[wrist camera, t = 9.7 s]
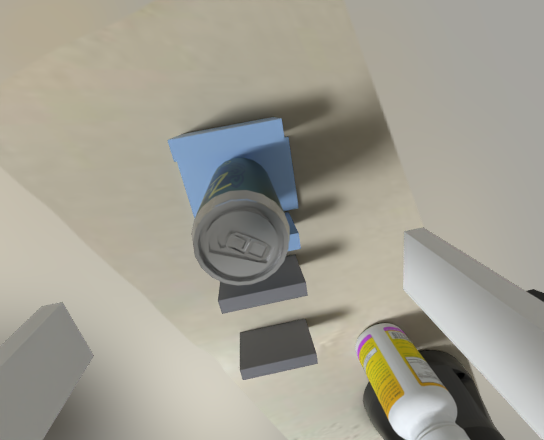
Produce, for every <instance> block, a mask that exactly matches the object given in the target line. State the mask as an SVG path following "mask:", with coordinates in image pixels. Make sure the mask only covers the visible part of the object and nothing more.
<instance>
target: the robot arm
mask: <svg viewBox="0 0 544 440" xmlns="http://www.w3.org/2000/svg"><path fill="white" fill-rule="evenodd" d="M403 290H404V291H405V292H406V293H407V294H408V295H409V296H410V297H411V298H412V299H413V300H414V301H415V303H416V304H417V305H418V306H419V307H420V308H421V309H422V310H423V311H424V312H425V313H426V314H427V315H428V317H429V318H430V319H431V320H432V321H433V322H434V323H435V324H436V325H437V326H438V327H439V328H440V330H441V331H442V332H443V333H444V334H445V335H446V336H447V337H448V338H449V339H450V340H451V341H452V343H453V344H454V345H455V346H456V347H457V348H458V349H459V350H460V351H461V352H462V353H463V354H464V355H465V357H466V358H467V359H468V360H469V361H470V362H471V363H472V364H473V365H474V366H475V367H476V368H477V370H478V371H479V372H480V373H481V374H482V375H483V376H484V377H485V378H486V379H487V380H488V381H489V382H490V383H491V385H492V386H493V387H494V388H495V389H496V390H497V391H498V392H499V393H500V394H501V395H502V397H503V398H504V399H505V400H506V401H507V402H508V403H509V404H510V405H511V406H512V407H513V408H514V409H515V411H516V412H517V413H518V414H519V415H520V416H521V417H522V418H523V419H524V420H525V421H526V422H527V424H528V425H529V426H530V427H531V428H532V429H533V430H534V431H535V432H536V433H537V434H538V435H539V436H540V438H541V439H542V440H544V293H542V292H539V291H536V290H534V289H533V290H528V291H525V290H523V289H522V288H520V287H518V286H517V285H515V284H514V283H512V282H510V281H509V280H507V279H505V278H504V277H502V276H501V275H499V274H497V273H496V272H494V271H493V270H491V269H489V268H488V267H486V266H485V265H483V264H481V263H480V262H478V261H477V260H475V259H473V258H472V257H470V256H469V255H467V254H465V253H464V252H462V251H461V250H459V249H457V248H456V247H454V246H452V245H451V244H449V243H448V242H446V241H444V240H443V239H441V238H440V237H438V236H436V235H435V234H433V233H432V232H430V231H428V230H427V229H425V228H424V227H423V228H418V229H413V230H408V231H404V281H403ZM419 353H420V354H421V356H422V357H423V358H424V360H425V361H426V362H427V364H428V365H429V366H430V368H431V369H432V370H433V372H434V373H435V374H436V376H437V377H438V378H439V380H440V381H441V382H442V384H443V385H444V386H445V388H446V389H447V390H448V392H449V393H450V395H451V396H452V397H453V399H454V401H455V403H456V406H457V418H456V420H455V423H456V424H457V425H458V426H459V427H460V428H462V429H463V430H464V431H465V433H466V434H467V436H468V437H469V439H470V440H505V439H504V438H503V436H502V435H501V434H500V433H499V431H498V430H497V429H496V427H495V426H494V424H493V422H492V420H491V418H490V416H489V414H488V411H487V409H486V407H485V405H484V403H483V401H482V399H481V397H480V394H479V392H478V390H477V388H476V386H475V384H474V382H473V380H472V378H471V376H470V375H469V373H468V372H467V371H466V370H465V368H464V367H463V366H462V365H461V364H460V363H459V362H458V360H457V359H456V358H454V357H453V356H451V355H449V354H447V353H444V352H440V351H420V352H419ZM93 356H94V355H93V354H92V352H91V350H90V349H89V347H88V345H87V343H86V341H85V340H84V338H83V337H82V335H81V333H80V331H79V329H78V328H77V326H76V324H75V323H74V321H73V319H72V318H71V316H70V314H69V312H68V311H67V309H66V307H65V306H64V304H63V302H60V303H56V304H51V305H46V306H42V307H41V308H39V310H37V311H36V312H35V313H34V314H33V315H32V316H31V317H30V318H29V319H28V320H27V321H26V322H25V323H24V324H23V325H22V326H21V327H20V328H19V329H18V330H17V331H15V333H13V334H12V335H11V336H10V337H9V338H8V339H7V340H6V341H5V342H4V343H3V344H2V345H1V346H0V440H43V438H44V436H45V435H46V433H47V431H48V430H49V428H50V427H51V425H52V423H53V422H54V420H55V418H56V417H57V415H58V414H59V412H60V410H61V409H62V407H63V405H64V404H65V402H66V400H67V399H68V397H69V396H70V394H71V392H72V391H73V389H74V387H75V385H76V384H77V382H78V381H79V379H80V378H81V376H82V374H83V373H84V371H85V369H86V368H87V366H88V365H89V363H90V361H91V359H92V358H93ZM363 402H364V406H365V409H366V411H367V414H368V416H369V418H370V421H371V423H372V424H373V426H374V427H375V429H376V430H377V431H378V433H379V434H380V435H381V436H382V438H383V439H384V440H406V439H404V438H402V437H401V436H399V435H398V434H397V433H396V432H395V431H394V429H393V428H392V426H391V424H390V422H389V420H388V418H387V416H386V414H385V412H384V410H383V407H382V405H381V404H380V401H379V399H378V397H377V395H376V393H375V391H374V389H373V387H372V385H371V383H370V381H369V383H368V385H367V387H366V389H365V392H364V396H363Z"/></svg>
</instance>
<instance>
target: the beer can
mask: <svg viewBox="0 0 544 440" xmlns="http://www.w3.org/2000/svg"><path fill="white" fill-rule="evenodd" d="M191 234H192V241H193V247H194V253H195V257H196V259H197V261H198V262H199V264H200V266H201V268H202V269H203V270H204V271H206V272H207V273H208V274H209V275H210V276H211V277H212V278H215V279H217V280H219V281H221V282H223V283H226V284H232V285H238V286H239V285H250V284H254V283H257V282H260V281H262V280H265V279H267V278H268V277H269V276H271V275H272V274H273V273H275V272H276V271H277V270H278V269H279V267H280V266H281V265H282V263H283V262H284V260H285V257H286V255H287V252H288V249H289V241H290V227H289V224H288V221H287V218H286V216H285V213H284V211H283V208H282V206H281V204H280V201H279V199H278V197H277V194H276V192H275V190H274V188H273V185H272V183H271V181H270V178H269V176H268V174H267V172H266V171H265V170H264V168H263V167H262V166H261V165H260V164H258V163H257V162H255V161H254V160H251V159H247V158H233V159H230V160H228V161H225V162H224V163H223V164H221V165H220V166H219V167H218V168H217V170H216V171H215V173H214V174H213V176H212V179H211V181H210V183H209V186H208V188H207V191H206V193H205V195H204V198H203V200H202V202H201V205H200V207H199V210H198V212H197V214H196V217H195V219H194V224H193V229H192V233H191Z"/></svg>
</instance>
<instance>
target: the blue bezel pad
mask: <svg viewBox="0 0 544 440" xmlns="http://www.w3.org/2000/svg"><path fill="white" fill-rule="evenodd" d="M284 139H285V141H280V142H275V143H269V144H264V145H259V146H254V147H249V148H243V149H238V150H233V151H228V152H223V153H217V154H212V155H207V156H202V157H197V158H191V159H186V160H181V161H177V163H178V166H179V170H180V173H181V176H182V179H183V183H184V186H185V189H186V192H187V195H188V199H189V202H190V205H191V208H192V212H193V215H194V218H195V217H196V214H197V212H198V210H199V207H200V205H201V202H202V200H203V198H204V195H205V193H206V191H207V188H208V186H209V183H210V181H211V179H212V176H213V174H214V173H215V171H216V170H217V168H218V167H219V166H220V165H221V164H223V163H224V162H225V161H228V160H230V159H233V158H247V159H251V160H254V161H255V162H257V163H258V164H260V165H261V166H262V167H263V168H264V170H265V171H266V172H267V174H268V176H269V178H270V181H271V183H272V185H273V188H274V190H275V192H276V194H277V197H278V199H279V201H280V204H281V206H282V208H283V211H287V210H292V209H296V208H298V201H297V194H296V187H295V180H294V172H293V165H292V158H291V151H290V144H289V137H284Z"/></svg>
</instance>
